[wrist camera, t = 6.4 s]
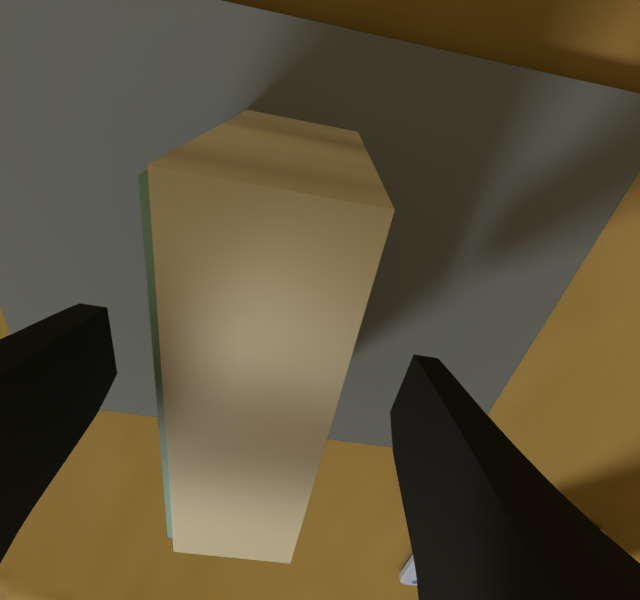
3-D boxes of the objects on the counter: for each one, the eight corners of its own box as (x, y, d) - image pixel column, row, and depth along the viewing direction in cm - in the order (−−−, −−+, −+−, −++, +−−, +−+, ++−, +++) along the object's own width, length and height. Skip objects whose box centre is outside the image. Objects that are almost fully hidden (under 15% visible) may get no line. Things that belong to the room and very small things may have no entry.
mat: (662, 100, 9) (681, 102, 9) (457, 444, 17) (461, 456, 16) (-100, -69, 8) (-130, -78, 7) (42, 390, 15) (33, 401, 15)
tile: (303, 384, 14) (290, 563, 9) (224, 373, 14) (165, 550, 9) (357, 131, 9) (395, 209, 4) (239, 107, 9) (128, 161, 4)
